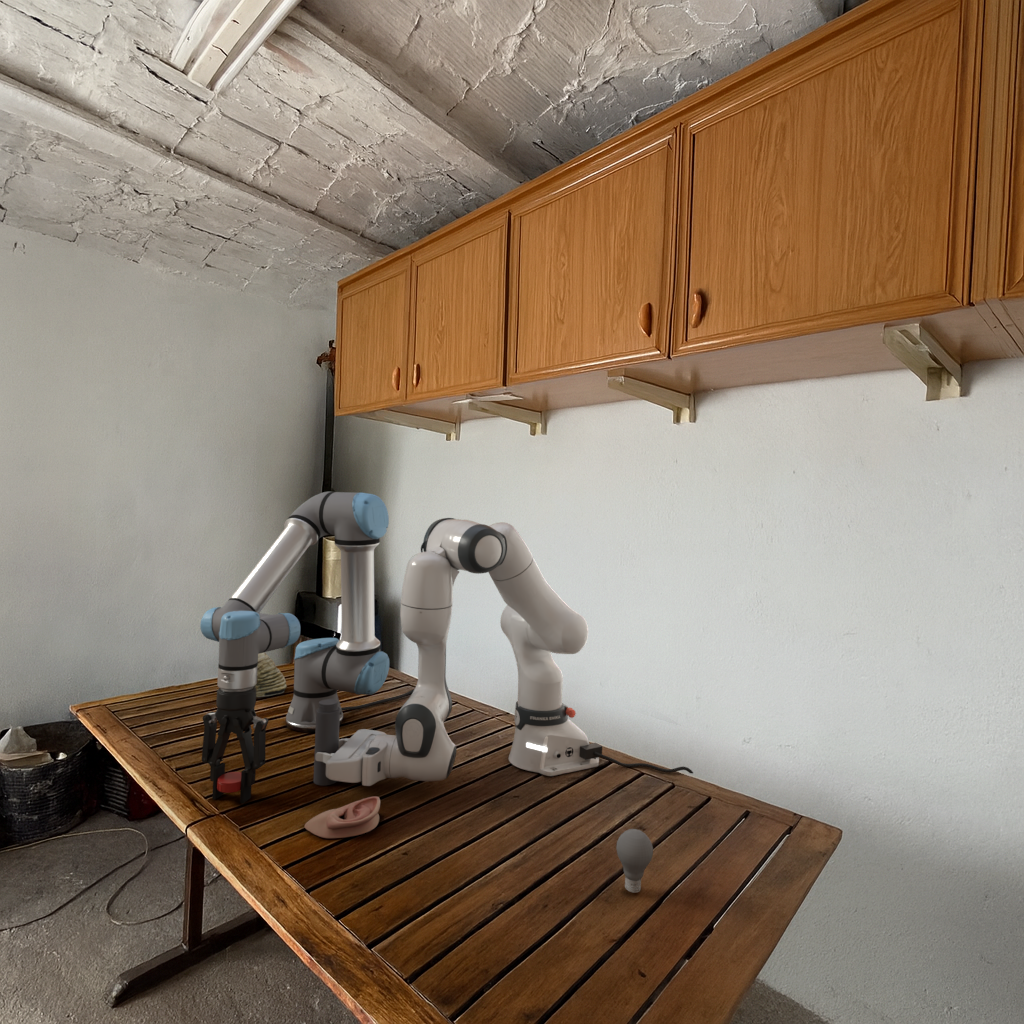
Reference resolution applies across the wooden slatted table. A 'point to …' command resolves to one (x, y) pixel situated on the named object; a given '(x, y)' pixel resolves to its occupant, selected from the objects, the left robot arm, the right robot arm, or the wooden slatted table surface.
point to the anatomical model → (346, 819)
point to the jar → (326, 737)
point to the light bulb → (634, 857)
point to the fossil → (268, 677)
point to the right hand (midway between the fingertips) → (322, 749)
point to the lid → (229, 782)
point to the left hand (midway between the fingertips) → (231, 798)
